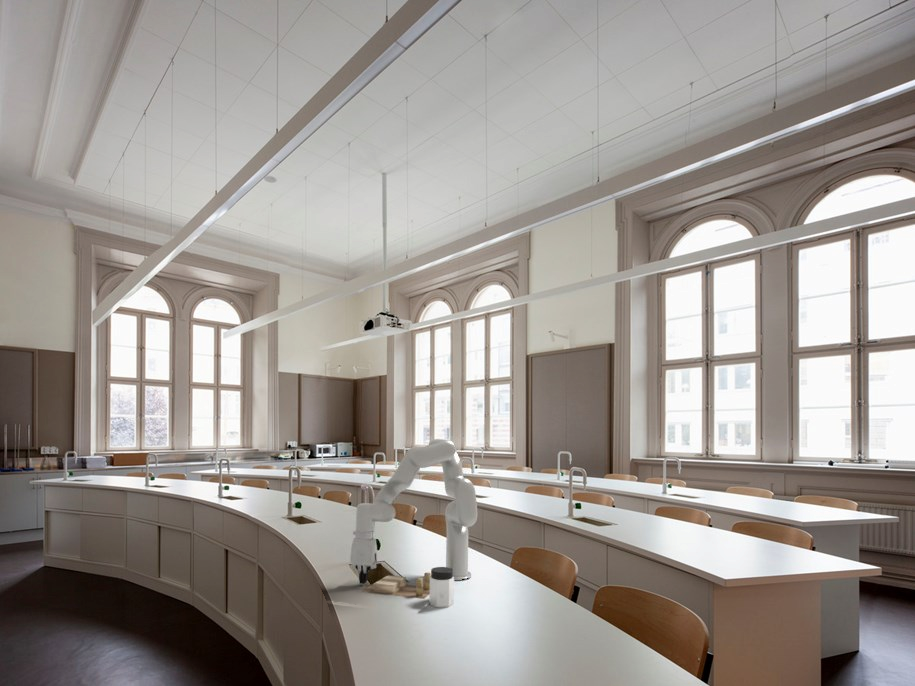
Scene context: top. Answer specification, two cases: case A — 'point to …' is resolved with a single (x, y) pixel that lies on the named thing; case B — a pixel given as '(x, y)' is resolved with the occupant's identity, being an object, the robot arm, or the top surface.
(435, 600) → the jar
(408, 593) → the board
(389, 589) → the cream rectangular slab
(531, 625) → the top surface
